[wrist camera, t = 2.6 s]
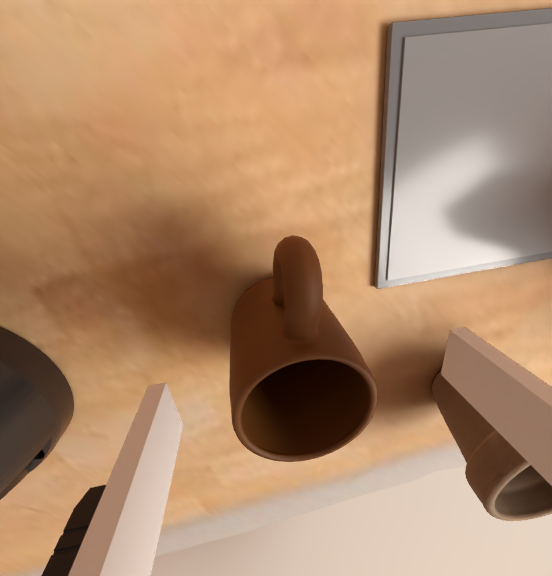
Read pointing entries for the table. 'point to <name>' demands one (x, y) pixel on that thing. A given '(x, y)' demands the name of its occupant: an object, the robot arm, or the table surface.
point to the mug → (295, 365)
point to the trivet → (465, 146)
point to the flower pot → (492, 461)
